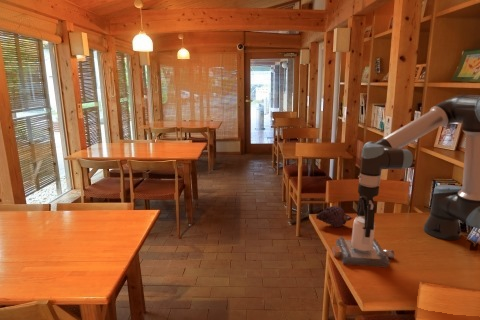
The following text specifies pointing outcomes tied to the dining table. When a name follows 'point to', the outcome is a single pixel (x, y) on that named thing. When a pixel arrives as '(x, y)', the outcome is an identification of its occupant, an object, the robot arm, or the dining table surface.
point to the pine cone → (333, 216)
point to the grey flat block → (361, 254)
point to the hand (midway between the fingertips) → (362, 238)
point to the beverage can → (361, 234)
